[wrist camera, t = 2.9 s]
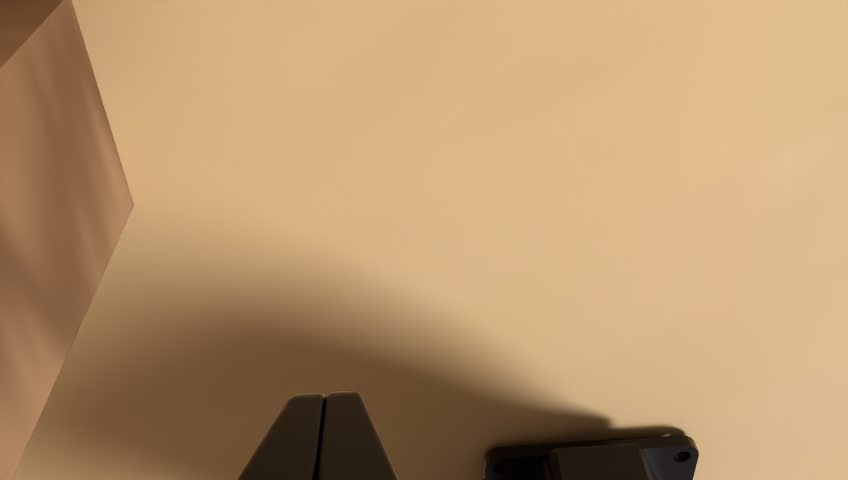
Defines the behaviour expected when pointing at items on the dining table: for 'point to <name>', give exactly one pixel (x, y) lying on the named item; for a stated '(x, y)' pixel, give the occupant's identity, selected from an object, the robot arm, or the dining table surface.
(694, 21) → the dining table surface
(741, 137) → the dining table surface
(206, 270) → the dining table surface
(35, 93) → the walnut block
